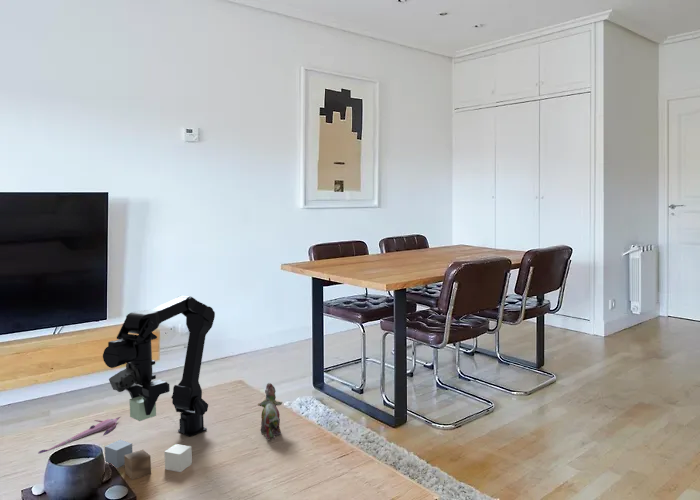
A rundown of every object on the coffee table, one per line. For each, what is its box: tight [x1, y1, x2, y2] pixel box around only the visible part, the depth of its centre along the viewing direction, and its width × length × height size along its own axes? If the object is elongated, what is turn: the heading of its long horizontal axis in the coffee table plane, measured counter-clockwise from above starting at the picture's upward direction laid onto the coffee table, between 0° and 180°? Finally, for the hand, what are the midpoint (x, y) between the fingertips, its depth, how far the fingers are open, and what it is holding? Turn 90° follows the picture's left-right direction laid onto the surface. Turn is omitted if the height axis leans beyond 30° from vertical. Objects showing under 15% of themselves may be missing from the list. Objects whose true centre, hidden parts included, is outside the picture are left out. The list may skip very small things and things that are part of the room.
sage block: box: [129, 396, 157, 422], centre depth 155 cm, size 5×5×5 cm
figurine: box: [257, 382, 283, 440], centre depth 172 cm, size 8×12×15 cm, turn 174°
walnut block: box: [124, 449, 152, 481], centre depth 147 cm, size 5×5×5 cm
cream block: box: [163, 443, 193, 473], centre depth 151 cm, size 5×5×5 cm
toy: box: [37, 416, 121, 454], centre depth 171 cm, size 28×2×10 cm
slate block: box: [104, 439, 133, 469], centre depth 154 cm, size 5×5×5 cm
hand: (143, 412), depth 155 cm, fingers closed on sage block, 5 cm apart
